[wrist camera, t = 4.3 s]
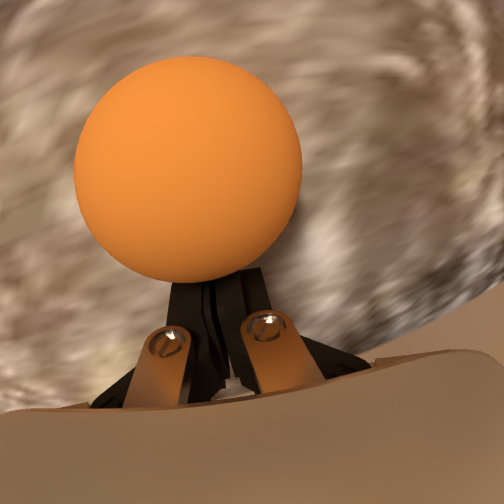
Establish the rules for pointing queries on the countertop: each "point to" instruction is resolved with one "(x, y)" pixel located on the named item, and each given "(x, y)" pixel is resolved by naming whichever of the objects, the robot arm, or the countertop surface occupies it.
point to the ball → (188, 169)
